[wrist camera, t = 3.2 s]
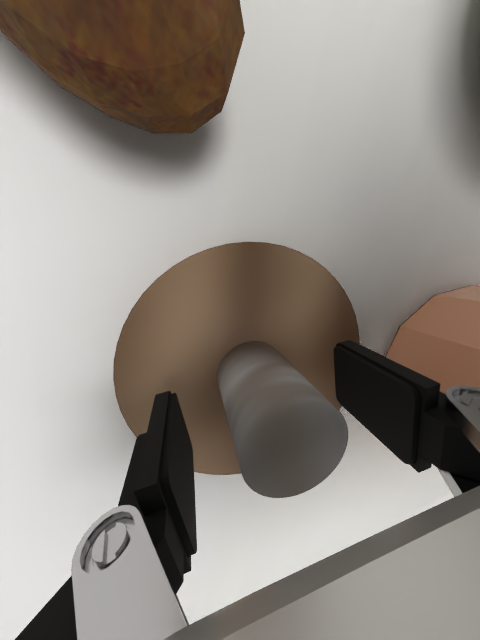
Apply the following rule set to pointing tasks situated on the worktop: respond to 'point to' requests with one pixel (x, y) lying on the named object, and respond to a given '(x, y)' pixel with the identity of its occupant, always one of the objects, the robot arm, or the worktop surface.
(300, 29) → the worktop surface
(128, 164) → the worktop surface
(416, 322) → the bowl
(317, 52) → the worktop surface
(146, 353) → the lid
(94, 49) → the potato
